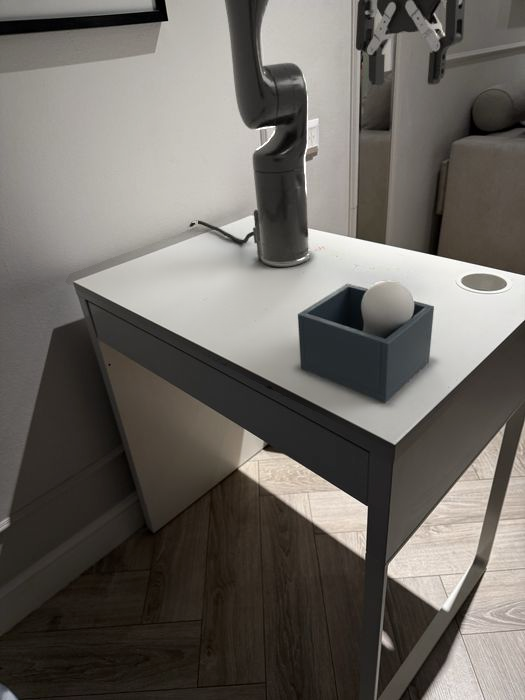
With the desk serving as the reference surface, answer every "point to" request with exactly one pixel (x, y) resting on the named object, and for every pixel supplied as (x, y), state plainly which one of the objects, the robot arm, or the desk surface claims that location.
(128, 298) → the desk surface
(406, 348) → the bin
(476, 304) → the desk surface
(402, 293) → the lightbulb
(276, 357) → the desk surface
